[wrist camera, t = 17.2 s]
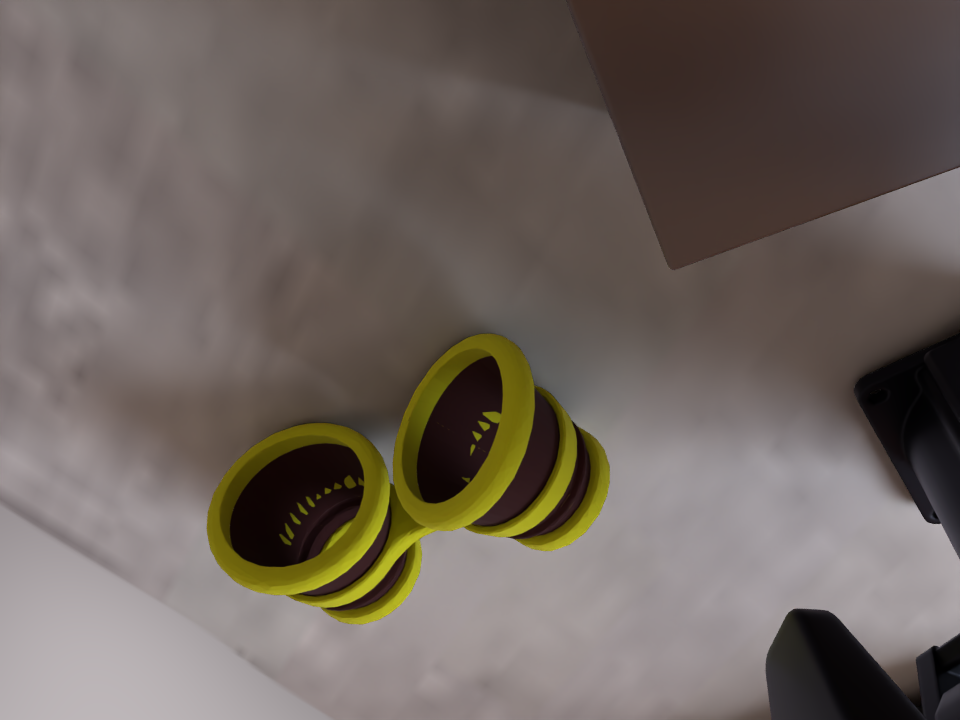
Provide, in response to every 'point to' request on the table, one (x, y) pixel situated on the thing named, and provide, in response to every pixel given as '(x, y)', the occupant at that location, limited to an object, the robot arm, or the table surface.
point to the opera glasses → (408, 487)
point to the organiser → (772, 107)
